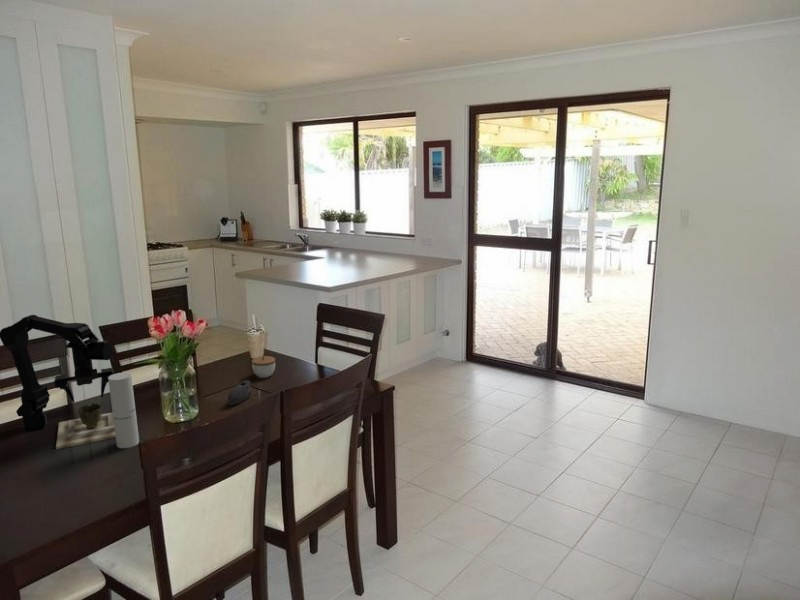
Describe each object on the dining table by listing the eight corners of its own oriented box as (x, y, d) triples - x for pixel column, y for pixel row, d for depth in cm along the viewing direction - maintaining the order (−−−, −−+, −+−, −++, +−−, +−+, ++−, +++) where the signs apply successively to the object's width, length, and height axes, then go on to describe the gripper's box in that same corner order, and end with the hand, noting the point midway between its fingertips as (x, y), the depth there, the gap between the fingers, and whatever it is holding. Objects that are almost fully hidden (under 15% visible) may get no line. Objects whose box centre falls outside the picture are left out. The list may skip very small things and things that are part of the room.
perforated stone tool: (234, 409, 227) (232, 392, 225) (223, 407, 228) (221, 391, 227) (255, 395, 241) (254, 380, 239) (245, 393, 242) (243, 378, 241)
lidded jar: (273, 379, 258) (272, 360, 256) (249, 379, 259) (248, 360, 257) (278, 371, 269) (277, 352, 267) (256, 371, 269) (254, 352, 267)
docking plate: (56, 449, 194) (55, 442, 194) (59, 424, 213) (58, 418, 213) (127, 435, 204) (126, 428, 204) (124, 413, 223) (123, 407, 223)
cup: (80, 433, 204) (77, 412, 202) (80, 425, 210) (78, 405, 208) (103, 429, 207) (100, 409, 205) (103, 421, 214) (100, 401, 212)
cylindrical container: (143, 440, 201) (136, 373, 195) (128, 449, 194) (119, 380, 188) (127, 437, 203) (119, 371, 197) (112, 446, 196) (103, 378, 191)
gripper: (50, 370, 192) (57, 412, 195) (112, 361, 200) (117, 402, 204) (52, 360, 201) (58, 401, 205) (111, 352, 210) (116, 392, 213)
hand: (88, 399), depth 206 cm, fingers open, 9 cm apart
